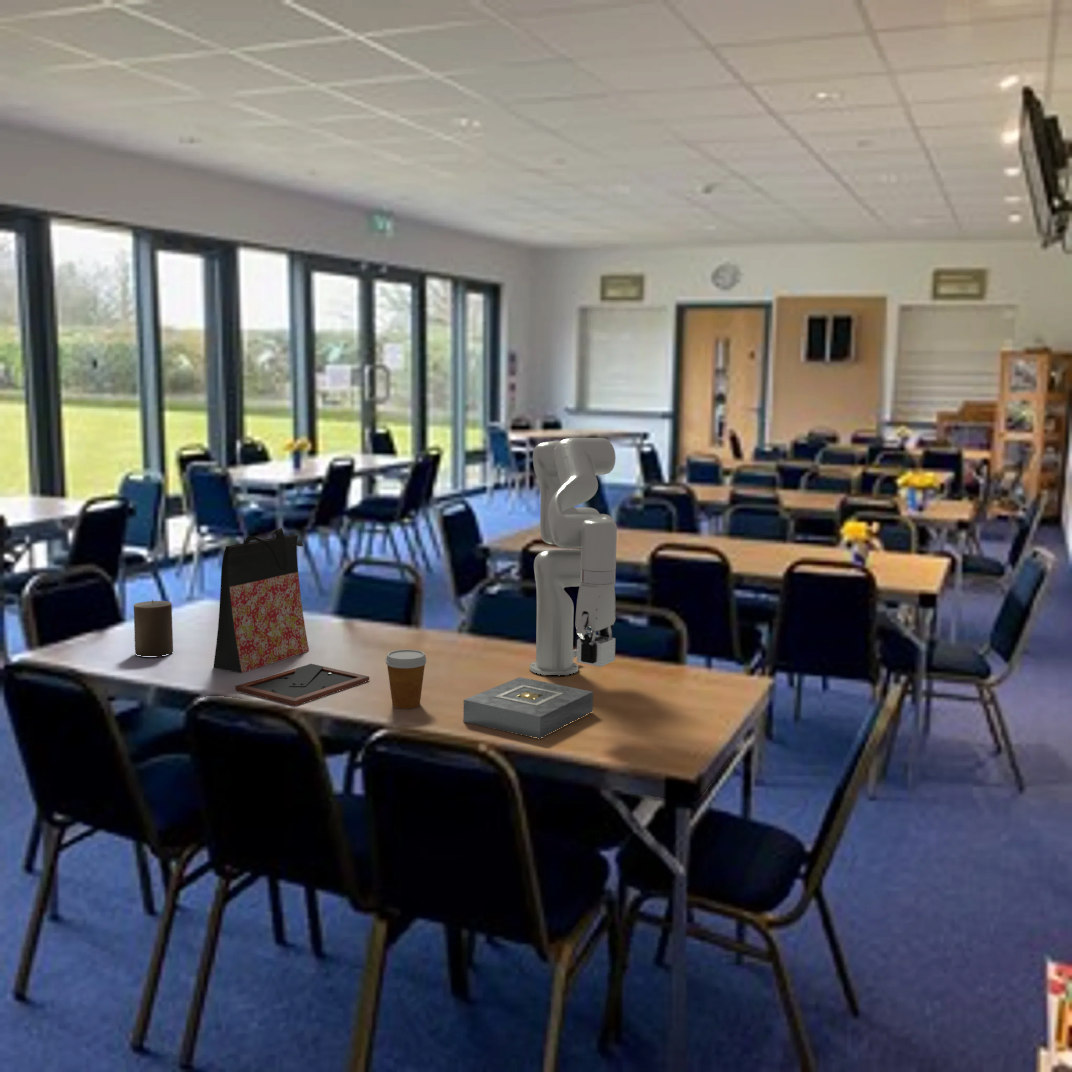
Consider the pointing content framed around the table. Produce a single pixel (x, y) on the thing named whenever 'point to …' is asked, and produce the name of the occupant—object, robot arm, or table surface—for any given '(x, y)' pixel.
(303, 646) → the gift bag
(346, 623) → the table surface
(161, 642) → the pillar candle
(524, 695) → the brass pin
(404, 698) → the disposable coffee cup
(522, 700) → the block
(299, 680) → the picture frame
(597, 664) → the block
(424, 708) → the table surface
